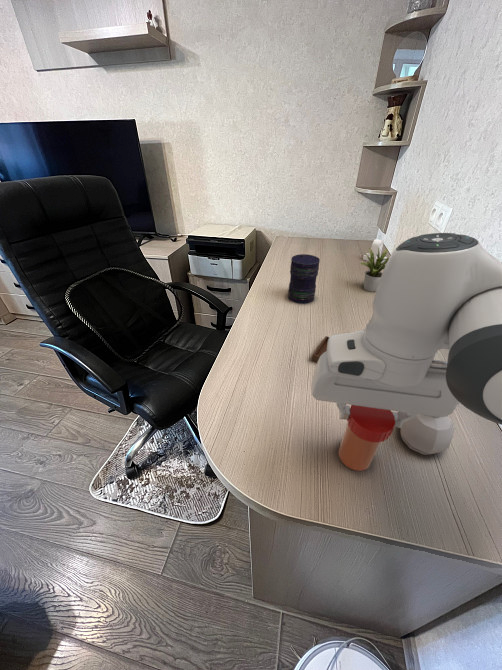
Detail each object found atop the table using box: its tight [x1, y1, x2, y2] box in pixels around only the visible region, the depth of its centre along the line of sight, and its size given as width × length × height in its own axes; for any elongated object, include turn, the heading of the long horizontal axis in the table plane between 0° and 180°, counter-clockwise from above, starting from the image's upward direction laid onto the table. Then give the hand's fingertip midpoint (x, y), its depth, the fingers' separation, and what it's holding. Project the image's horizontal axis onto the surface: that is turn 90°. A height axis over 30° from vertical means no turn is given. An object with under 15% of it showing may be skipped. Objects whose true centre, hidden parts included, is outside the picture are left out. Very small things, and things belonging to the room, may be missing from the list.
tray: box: [311, 335, 330, 364], centre depth 75 cm, size 11×10×2 cm
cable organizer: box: [362, 238, 388, 264], centre depth 134 cm, size 5×10×10 cm, turn 49°
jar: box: [338, 422, 381, 472], centre depth 49 cm, size 6×6×11 cm
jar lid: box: [346, 405, 395, 443], centre depth 45 cm, size 7×7×2 cm
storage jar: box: [287, 253, 321, 305], centre depth 100 cm, size 10×10×15 cm
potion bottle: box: [400, 414, 455, 456], centre depth 50 cm, size 9×9×18 cm
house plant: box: [359, 247, 390, 292], centre depth 105 cm, size 14×14×16 cm
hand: (368, 420), depth 46 cm, fingers closed on jar lid, 7 cm apart
